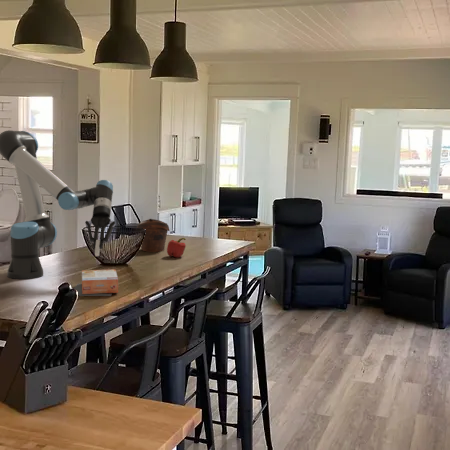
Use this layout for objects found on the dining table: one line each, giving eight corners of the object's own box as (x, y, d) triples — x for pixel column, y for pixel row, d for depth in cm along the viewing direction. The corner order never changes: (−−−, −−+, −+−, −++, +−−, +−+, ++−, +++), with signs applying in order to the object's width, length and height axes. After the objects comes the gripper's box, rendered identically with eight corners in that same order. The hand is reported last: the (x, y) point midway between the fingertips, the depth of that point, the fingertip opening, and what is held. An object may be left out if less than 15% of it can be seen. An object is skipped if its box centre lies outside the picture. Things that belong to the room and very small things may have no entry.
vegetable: (181, 254, 342) (181, 236, 341) (190, 257, 334) (190, 238, 332) (163, 256, 336) (163, 237, 335) (172, 259, 328) (172, 240, 327)
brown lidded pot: (151, 246, 369) (151, 215, 367) (176, 250, 357) (176, 219, 354) (128, 250, 356) (128, 218, 353) (153, 254, 343) (153, 221, 341)
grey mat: (69, 295, 242) (69, 294, 242) (78, 284, 262) (78, 283, 262) (111, 295, 243) (111, 294, 243) (116, 284, 263) (116, 283, 263)
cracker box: (81, 284, 262) (81, 294, 242) (81, 270, 262) (81, 279, 241) (115, 283, 265) (118, 293, 245) (115, 269, 265) (118, 278, 245)
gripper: (85, 204, 271) (79, 248, 257) (116, 205, 272) (112, 249, 258) (87, 215, 277) (82, 259, 263) (117, 215, 278) (113, 259, 263)
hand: (96, 254), depth 260 cm, fingers closed
